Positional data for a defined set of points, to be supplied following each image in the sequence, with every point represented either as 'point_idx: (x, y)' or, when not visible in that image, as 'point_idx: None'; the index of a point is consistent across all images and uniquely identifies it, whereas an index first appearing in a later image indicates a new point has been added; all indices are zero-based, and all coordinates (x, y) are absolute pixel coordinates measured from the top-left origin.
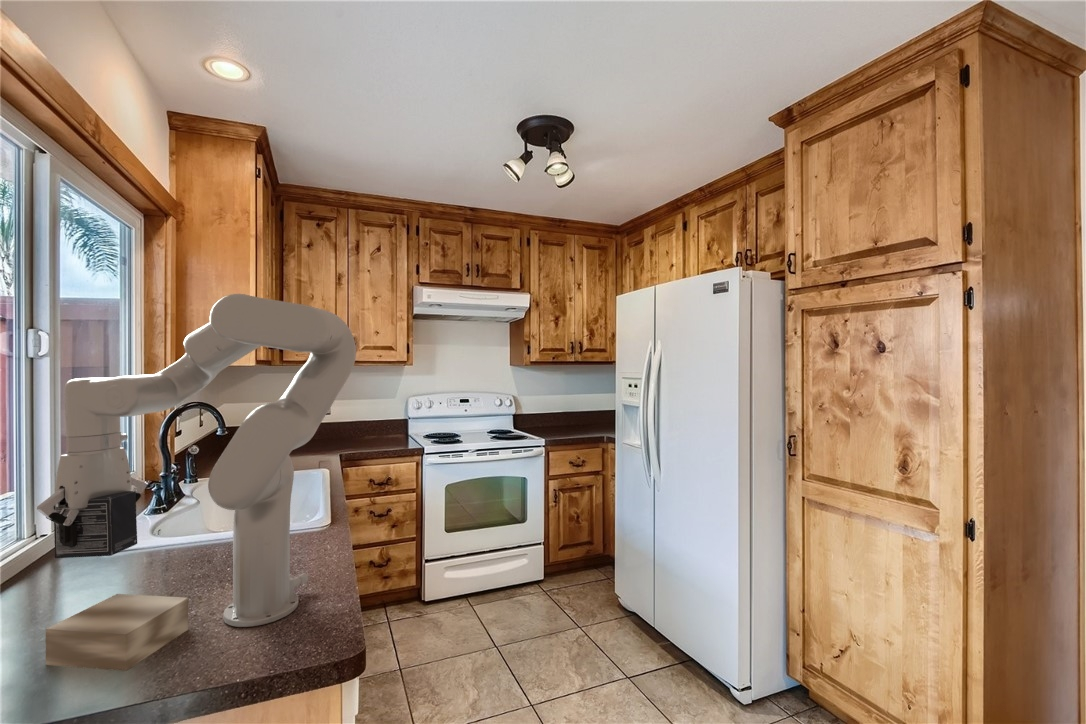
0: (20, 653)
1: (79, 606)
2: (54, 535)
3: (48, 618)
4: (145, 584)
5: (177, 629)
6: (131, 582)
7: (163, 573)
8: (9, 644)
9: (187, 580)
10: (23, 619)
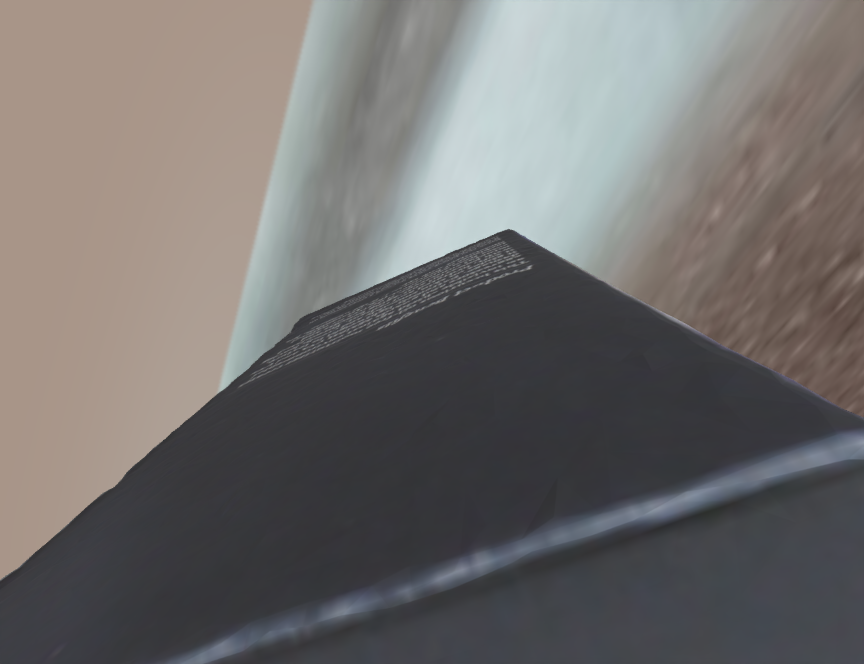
0: (255, 344)
1: (492, 137)
2: (230, 385)
3: (391, 144)
4: (723, 161)
5: None
6: (726, 70)
7: (844, 103)
8: (255, 249)
9: (794, 289)
10: (344, 55)
